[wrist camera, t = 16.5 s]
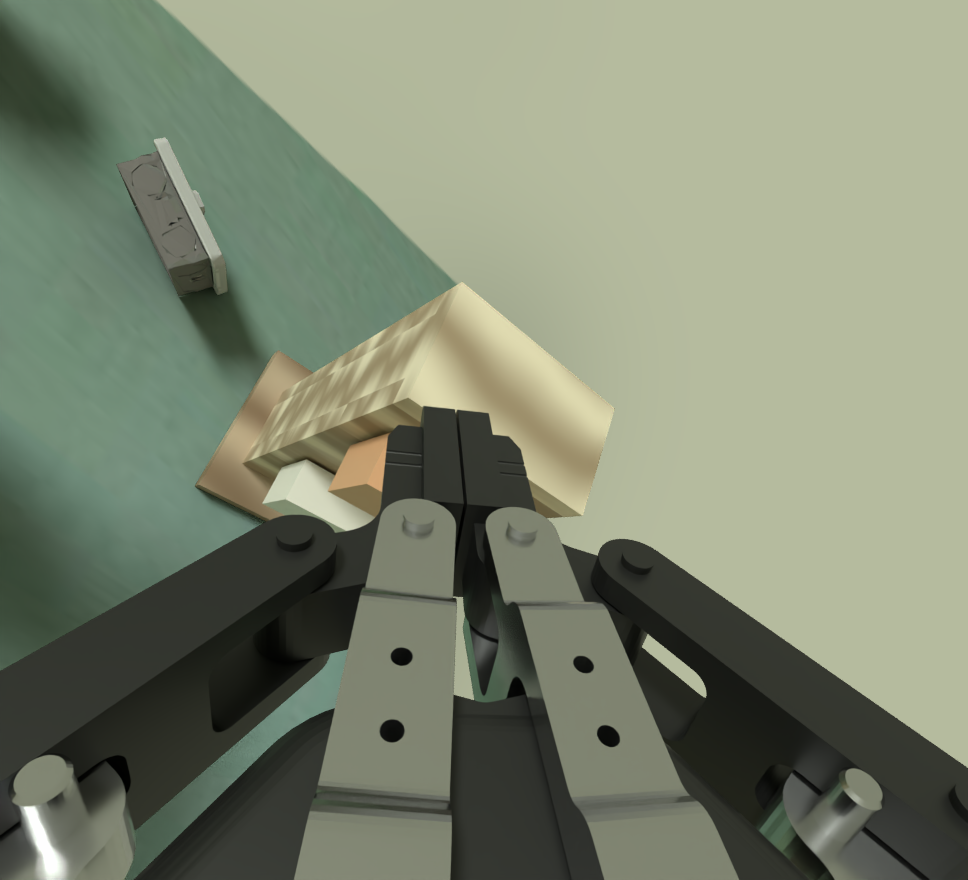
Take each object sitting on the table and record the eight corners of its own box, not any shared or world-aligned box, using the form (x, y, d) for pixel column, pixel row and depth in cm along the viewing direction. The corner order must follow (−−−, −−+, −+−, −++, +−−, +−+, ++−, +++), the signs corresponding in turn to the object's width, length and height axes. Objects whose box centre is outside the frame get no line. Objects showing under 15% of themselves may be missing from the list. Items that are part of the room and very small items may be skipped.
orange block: (385, 374, 38) (427, 353, 34) (492, 447, 42) (541, 436, 38) (327, 491, 34) (366, 483, 30) (449, 558, 38) (498, 559, 34)
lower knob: (312, 409, 47) (339, 396, 43) (405, 466, 51) (437, 459, 47) (262, 503, 44) (285, 499, 40) (365, 556, 48) (396, 556, 44)
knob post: (272, 354, 53) (453, 212, 31) (416, 446, 61) (647, 385, 38) (194, 486, 48) (343, 430, 26) (362, 568, 56) (592, 582, 33)
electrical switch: (227, 295, 52) (248, 255, 44) (165, 313, 49) (175, 274, 41) (176, 188, 51) (189, 128, 43) (109, 201, 48) (109, 140, 40)
